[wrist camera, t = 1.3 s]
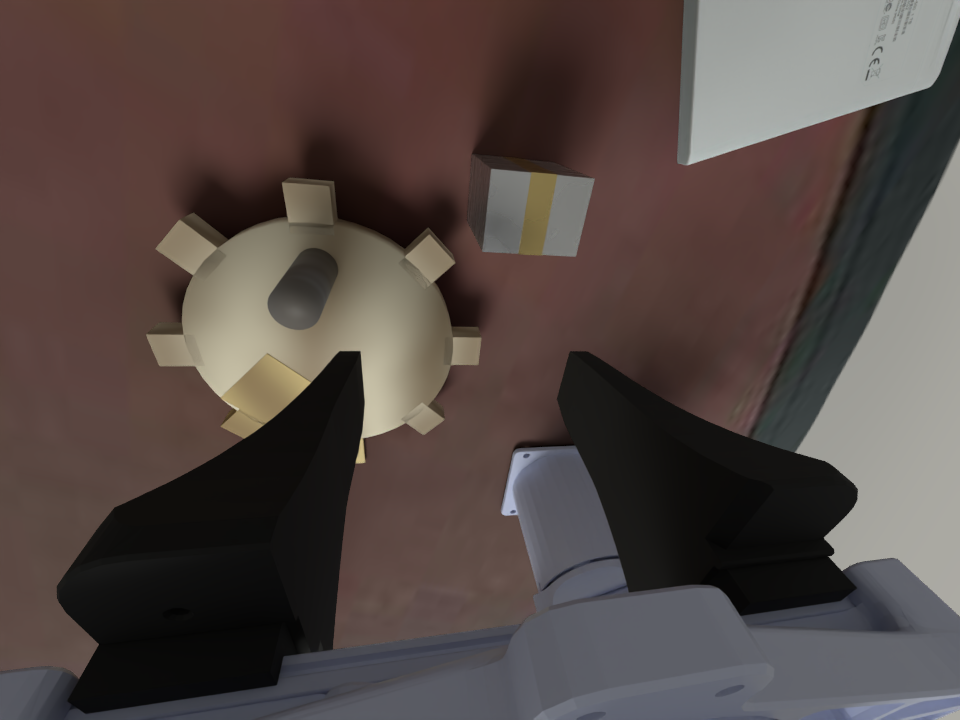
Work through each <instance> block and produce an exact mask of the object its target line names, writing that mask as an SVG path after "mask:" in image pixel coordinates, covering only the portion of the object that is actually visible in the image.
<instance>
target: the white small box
mask: <svg viewBox="0 0 960 720" xmlns="http://www.w3.org/2000/svg"><path fill="white" fill-rule="evenodd" d="M594 180H595V179H594V178H592V177H589V176H587V175H584V174H582V173H579V172H577V171H574V170H572V169H569V168H567V167H564V166H562V165H559V164H557V163H554V162H548V161H538V160H528V159H523V158H514V157H504V156H503V157H499V156H489V155H479V154H472V159H471V171H470V184H469V197H468V209H467V222H468V224H469V226H470V228H471V230H472V232H473V234H474V236H475V238H476V240H477V242H478V244H479V246H480V248H481V250H482V252H498V253H517V254H524V255H555V256H575V257H576V254H577V249H578V245H579V241H580V237H581V233H582V229H583V225H584V221H585V217H586V212H587V208H588V204H589V200H590V196H591V192H592V188H593V184H594Z"/></svg>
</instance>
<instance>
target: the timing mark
mask: <svg viewBox="0 0 960 720" xmlns="http://www.w3.org/2000/svg"><path fill="white" fill-rule="evenodd" d="M356 463H365V449H364V438H361V440H360V447H359V454H358V457H357V459H356Z"/></svg>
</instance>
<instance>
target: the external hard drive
mask: <svg viewBox="0 0 960 720" xmlns="http://www.w3.org/2000/svg"><path fill="white" fill-rule="evenodd" d="M959 18H960V0H684V14H683V38H682V62H681V87H680V111H679V134H678V156H677V163H678V164H684V165H690V164H693V163H696V162H699V161H702V160H705V159H708V158H712V157H715V156H718V155H721V154H724V153H727V152H730V151H733V150H736V149H739V148H742V147H745V146H748V145H752V144H755V143H758V142H761V141H764V140H767V139H770V138H773V137H776V136H780V135H783V134H786V133H789V132H792V131H795V130H798V129H801V128H804V127H808V126H811V125H814V124H817V123H820V122H823V121H826V120H829V119H832V118H836V117H839V116H842V115H845V114H848V113H851V112H854V111H857V110H861V109H864V108H867V107H870V106H873V105H876V104H879V103H882V102H885V101H889V100H892V99H894V98H898V97H901V96H904V95H907V94H910V93H913V92H917V91H920V90H923V89H926V88H929V87H931V86H932V85H933V83H934V82H935V80H936V79H937V78H938V76H939V74H940V71H941V68H942V66H943V63H944V60H945V57H946V55H947V52H948V49H949V47H950V44H951V41H952V38H953V35H954V32H955V29H956V27H957V24H958V21H959Z"/></svg>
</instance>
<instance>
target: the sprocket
mask: <svg viewBox="0 0 960 720" xmlns="http://www.w3.org/2000/svg"><path fill="white" fill-rule="evenodd" d="M282 186H283V192H284V198H285V204H286V210H287V216H288V217H282V218H276V219H273V220H269V221H265V222H262V223H259V224H256V225H254V226H252V227H250V228H247V229H245V230H243V231H241V232H240V233H238V234H237V235H235V236H234V237H232V238H231V239H229V240H228V239H227V238H225V237H224V236H223V235H222V234H220V233H219V232H218V231H216V230H215V229H214V228H213V227H211V226H210V225H209V224H207V223H206V222H205V221H204V220H202V219H201V218H200V217H199V216H197V215H196V214H195V213H192V214H190V215H188V216H186V217H184V218H182V219H180V220H179V221H178V222H177V223H176V225H175V226H174V227H173V228H172V229H171V231H170V232H169V233H168V234H167V235H166V237H165V238H164V239H163V240H162V242H161V243H160V244H159V245H158V246H157V248H156V250H157V251H159V252H160V253H162V254H163V255H165V256H166V257H168V258H169V259H170V260H172V261H173V262H175V263H176V264H178V265H179V266H181V267H182V268H183V269H185V270H186V271H188V272H189V273H191V274H192V275H193V277H192V279H191V281H190V284H189V286H188V288H187V290H186V294H185V298H184V302H183V310H182V323H168V322H159V323H158V324H157V325H156V326H155V327H154V328H153V329H151V330H150V331H149V332H148V333H147V334H146V336H147V338H148V341H149V343H150V345H151V348H152V350H153V352H154V354H155V357H156V359H157V361H158V364H159V366H195V367H196V368H197V370H198V371H199V373H200V374H201V376H202V377H203V379H204V380H205V381H206V382H207V384H208V385H209V386H210V387H211V388H212V390H213V391H214V392H215V393H216V394H217V395H219V396H220V397H221V399H222V400H224V401H225V402H226V403H227V404H229V405H230V406H231V407H233V409H232V410H231V411H230V412H229V413H228V415H227V416H226V418H225V420H224V421H223V423H222V425H221V427H223V428H224V429H226V430H228V431H230V432H232V433H234V434H236V435H238V436H240V437H242V438H244V439H245V438H246V437H248V436H249V435H251V434H252V433H254V432H255V431H256V430H258V429H259V428H261V427H262V426H263V425H264V424H266V423H267V422H268V421H270V420H271V419H272V418H274V417H275V416H276V415H277V414H278V413H279V412H281V411H282V410H283V409H284V408H285V407H286V406H287V405H288V404H289V403H291V402H292V401H293V400H294V399H295V398H296V397H297V396H298V395H299V394H300V393H301V392H302V391H303V390H304V389H305V388H306V387H307V386H308V385H309V384H310V383H311V382H312V381H313V380H314V379H315V378H316V377H317V376H318V374H319V373H320V372H321V371H322V370H323V369H324V368H325V367H326V365H327V364H328V363H329V362H330V361H331V360H332V358H333V357H334V356H335V355H336V354H337V353H338V352H339V351H361V362H362V374H363V386H364V398H365V408H364V420H363V431H362V436H361V438H367V437H371V436H375V435H378V434H382V433H385V432H387V431H390V430H392V429H395V428H397V427H399V426H401V425H403V424H404V423H407V424H408V425H410V426H411V427H413V428H414V429H415V430H417V431H418V432H420V433H421V434H423V435H425V434H426V433H427V432H429V431H430V430H431V429H433V428H434V427H435V426H437V425H438V424H439V423H441V422H442V421H443V420H445V418H444V409H443V406H441V405H440V404H439V403H438V402H436V401H435V400H434V398H435V397H436V396H437V394H438V393H439V391H440V390H441V388H442V386H443V384H444V382H445V380H446V378H447V376H448V373H449V369H450V366H451V365H478V362H479V354H480V345H481V335H480V332H479V328H478V327H451V322H450V317H449V313H448V310H447V307H446V303H445V300H444V298H443V296H442V294H441V292H440V290H439V288H438V286H437V284H436V283H435V280H436V279H437V278H439V277H440V276H441V275H442V274H443V273H444V272H445V271H447V270H448V269H449V268H450V267H451V266H452V265H454V264H455V260H454V257H453V254H452V253H451V252H450V251H449V250H448V249H447V248H446V247H445V245H444V244H443V243H442V242H441V241H440V240H439V239H438V238H437V237H436V235H435V234H434V233H433V232H432V231H431V230H430V229H429V228H427V229H426V230H425V231H424V232H423V233H422V234H420V235H419V236H418V237H417V238H416V239H415V240H414V241H413V242H412V243H411V244H410V245H409V246H408V247H406V248H405V249H404V248H403V247H401V246H400V245H398V244H397V243H396V242H394V241H393V240H391V239H390V238H388V237H386V236H384V235H382V234H380V233H378V232H376V231H375V230H372V229H370V228H367V227H364V226H362V225H359V224H357V223H353V222H349V221H346V220H342V219H338V217H337V207H336V197H335V187H334V181H325V180H313V179H300V178H288V179H286V180H285V181H283V182H282ZM359 447H360V445H359ZM358 454H359V450H358ZM358 454H357V457H358Z"/></svg>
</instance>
